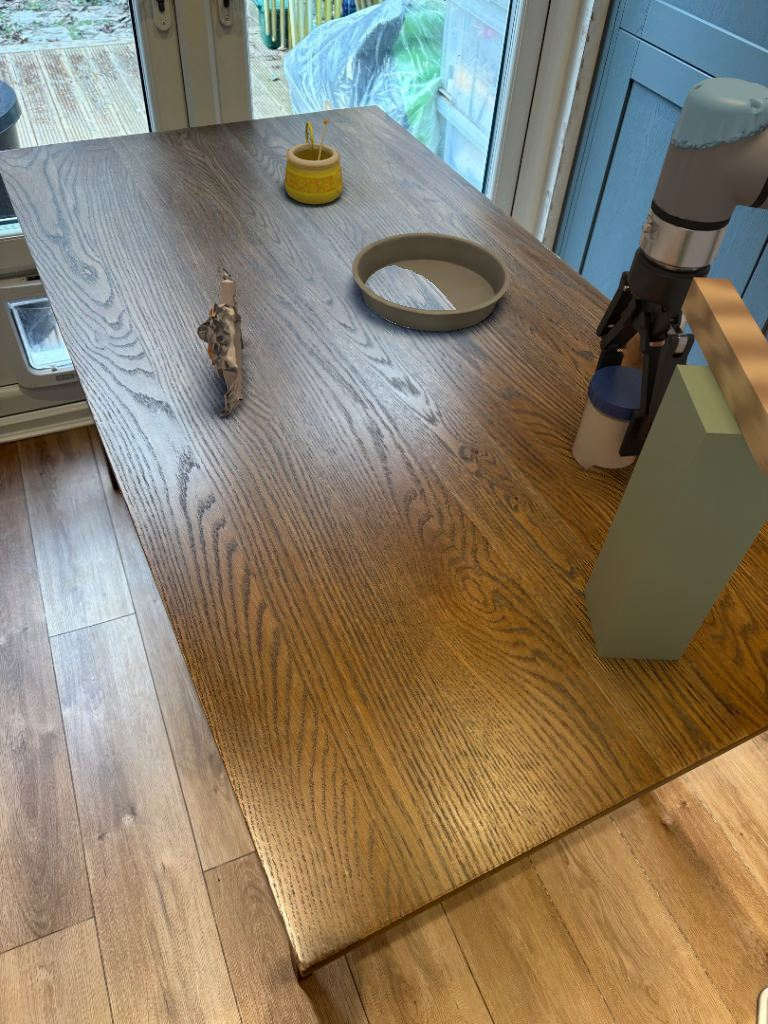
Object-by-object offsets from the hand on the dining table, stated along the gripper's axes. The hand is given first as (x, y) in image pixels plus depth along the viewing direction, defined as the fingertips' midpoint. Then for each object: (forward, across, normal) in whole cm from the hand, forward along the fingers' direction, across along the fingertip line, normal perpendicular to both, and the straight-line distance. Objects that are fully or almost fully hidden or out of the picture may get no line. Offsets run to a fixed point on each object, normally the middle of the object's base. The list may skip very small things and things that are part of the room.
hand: (613, 424), depth 92 cm
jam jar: (+5, 0, 0) cm, 5 cm away
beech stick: (-25, +24, -7) cm, 35 cm away
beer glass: (+5, -12, +8) cm, 15 cm away
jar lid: (-5, 0, 0) cm, 5 cm away
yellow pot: (+5, -76, -30) cm, 82 cm away
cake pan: (+5, -39, -15) cm, 42 cm away
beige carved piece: (+5, -18, -47) cm, 51 cm away
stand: (+5, +26, -7) cm, 28 cm away
